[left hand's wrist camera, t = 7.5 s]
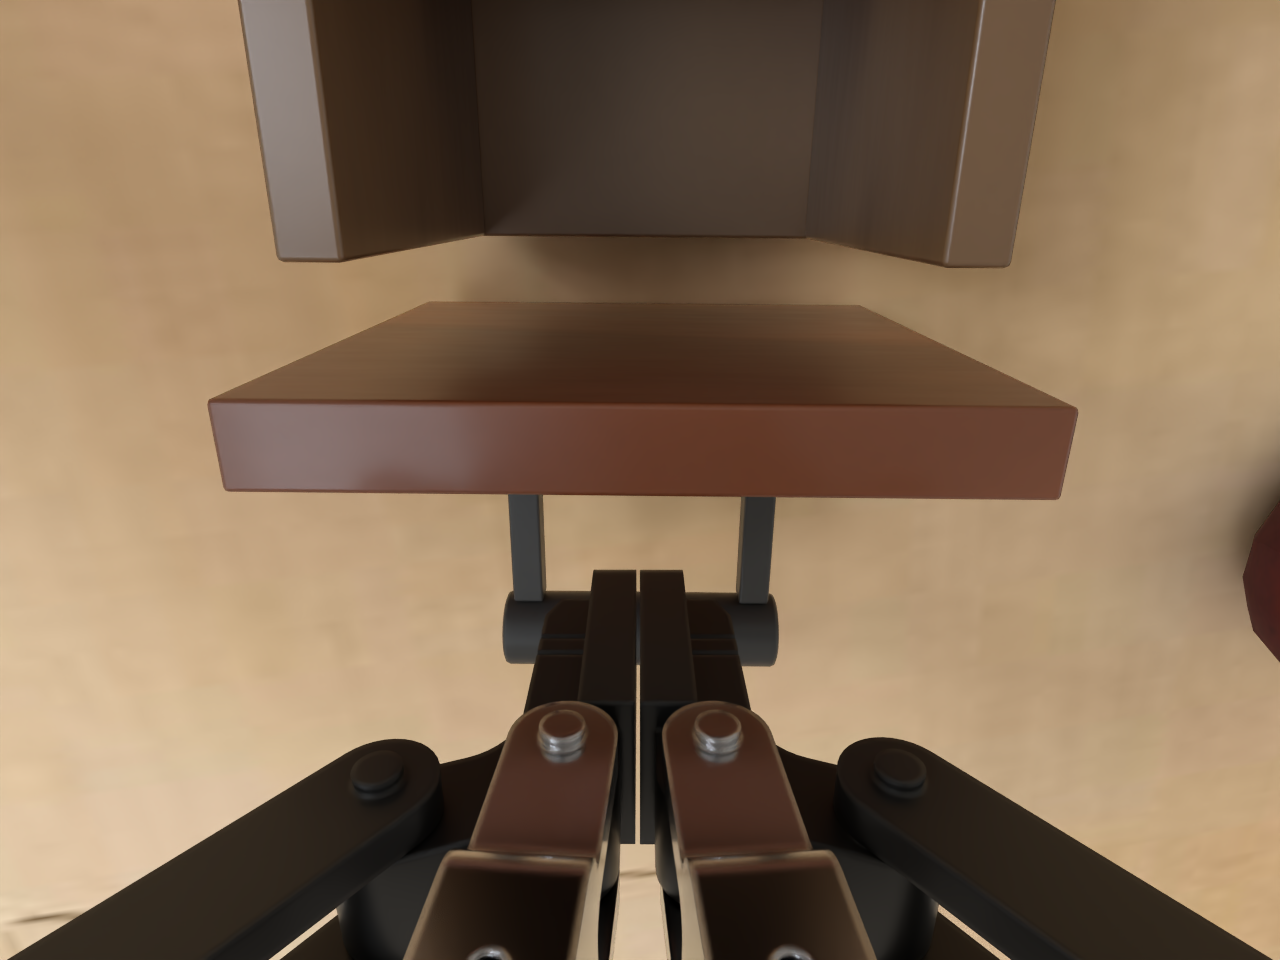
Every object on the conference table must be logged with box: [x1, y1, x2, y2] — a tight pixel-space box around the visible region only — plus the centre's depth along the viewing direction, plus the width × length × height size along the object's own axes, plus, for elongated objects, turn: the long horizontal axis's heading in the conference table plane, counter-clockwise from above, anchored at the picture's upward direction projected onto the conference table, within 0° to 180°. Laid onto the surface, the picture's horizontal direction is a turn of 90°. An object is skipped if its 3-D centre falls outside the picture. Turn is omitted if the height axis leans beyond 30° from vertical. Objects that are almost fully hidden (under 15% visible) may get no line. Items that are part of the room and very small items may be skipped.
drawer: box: [208, 0, 1078, 667], centre depth 12 cm, size 21×10×10 cm, turn 0°
